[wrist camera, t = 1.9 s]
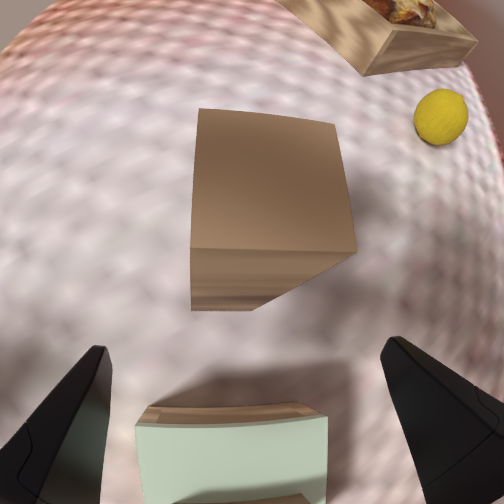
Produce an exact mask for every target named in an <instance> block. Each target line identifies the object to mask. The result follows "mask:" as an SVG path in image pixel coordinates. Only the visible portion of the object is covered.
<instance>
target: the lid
mask: <svg viewBox="0 0 504 504" xmlns="http://www.w3.org/2000/svg"><path fill="white" fill-rule="evenodd" d="M134 427H135V437H136V447H137V455H138V463H139V471H140V478H141V484H142V491H143V497H144V502H145V504H325V503H326V484H327V452H328V416H326V415H324V414H317V415H311V416H304V417H296V418H288V419H280V420H270V421H259V422H245V423H226V424H160V423H142V422H137V423H136V424H135V426H134Z"/></svg>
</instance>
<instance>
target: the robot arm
mask: <svg viewBox="0 0 504 504" xmlns="http://www.w3.org/2000/svg"><path fill="white" fill-rule="evenodd" d="M380 360H381V363H382V367H383V371H384V374H385V378H386V381H387V385H388V389H389V392H390V396H391V399H392V401H393V404H394V407H395V409H396V412H397V415H398V418H399V420H400V423H401V426H402V429H403V432H404V434H405V437H406V440H407V443H408V446H409V449H410V452H411V455H412V458H413V461H414V464H415V467H416V470H417V474H418V477H419V480H420V483H421V487H422V488H423V489H422V490H423V494H424V497H425V501H426V504H504V403H502V402H500V401H499V400H497V399H495V398H494V397H492V396H490V395H489V394H487V393H486V392H484V391H482V390H481V389H479V388H478V387H477V386H474V385H473V384H472V383H470V382H469V381H468V380H466V379H465V378H463V377H462V376H460V375H459V374H457V373H456V372H454V371H453V370H451V369H450V368H448V367H447V366H445V365H443V364H442V363H440V362H439V361H437V360H436V359H434V358H433V357H431V356H430V355H428V354H427V353H425V352H424V351H422V350H421V349H419V348H418V347H416V346H415V345H413V344H412V343H410V342H409V341H407V340H406V339H404V338H403V337H401V336H394V337H390V338H389V339H388V340H387V342H386V344H385V346H384V348H383V350H382V352H381V355H380ZM111 385H112V363H111V359H110V356H109V352H108V349H107V347H106V346H100V345H93V346H92V347H91V348H90V349H89V350H88V351H87V352H86V353H85V354H84V355H83V356H82V358H81V359H80V360H79V361H78V362H77V363H76V364H75V365H74V366H73V367H72V369H71V370H70V371H69V372H68V373H67V374H66V375H65V376H64V377H63V379H62V380H61V381H60V382H59V383H58V384H57V385H56V387H55V388H54V389H53V390H52V391H51V392H50V393H49V394H48V396H47V397H46V398H45V399H44V400H43V401H42V403H41V404H40V405H39V406H38V407H37V408H36V410H35V411H34V412H33V413H32V414H31V415H30V417H29V418H28V419H27V420H26V422H25V423H24V424H23V425H22V426H21V427H20V428H19V430H18V431H17V432H16V433H15V434H14V435H13V437H12V438H11V439H10V440H9V441H8V442H7V443H6V444H5V445H4V446H3V447H2V448H1V449H0V504H100V492H101V481H102V471H103V462H104V454H105V446H106V438H107V432H108V425H109V418H110V402H111Z"/></svg>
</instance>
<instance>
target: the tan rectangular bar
mask: <svg viewBox="0 0 504 504" xmlns="http://www.w3.org/2000/svg"><path fill="white" fill-rule="evenodd" d="M356 252H357V249H356V242H355V234H354V227H353V220H352V213H351V207H350V201H349V195H348V189H347V183H346V178H345V172H344V167H343V162H342V157H341V152H340V147H339V142H338V138H337V133H336V129H335V124H330V123H325V122H319V121H313V120H307V119H301V118H294V117H287V116H279V115H272V114H263V113H254V112H244V111H232V110H218V109H201V108H199V113H198V124H197V136H196V148H195V162H194V177H193V194H192V214H191V241H190V283H191V311H252V310H254V309H256V308H258V307H260V306H262V305H264V304H265V303H267V302H269V301H271V300H273V299H275V298H277V297H278V296H280V295H282V294H284V293H286V292H288V291H289V290H291V289H293V288H295V287H297V286H299V285H300V284H302V283H304V282H306V281H308V280H309V279H311V278H313V277H315V276H316V275H318V274H320V273H322V272H324V271H325V270H327V269H329V268H331V267H332V266H334V265H336V264H338V263H339V262H341V261H343V260H344V259H346V258H348V257H350V256H351V255H353V254H355V253H356Z"/></svg>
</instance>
